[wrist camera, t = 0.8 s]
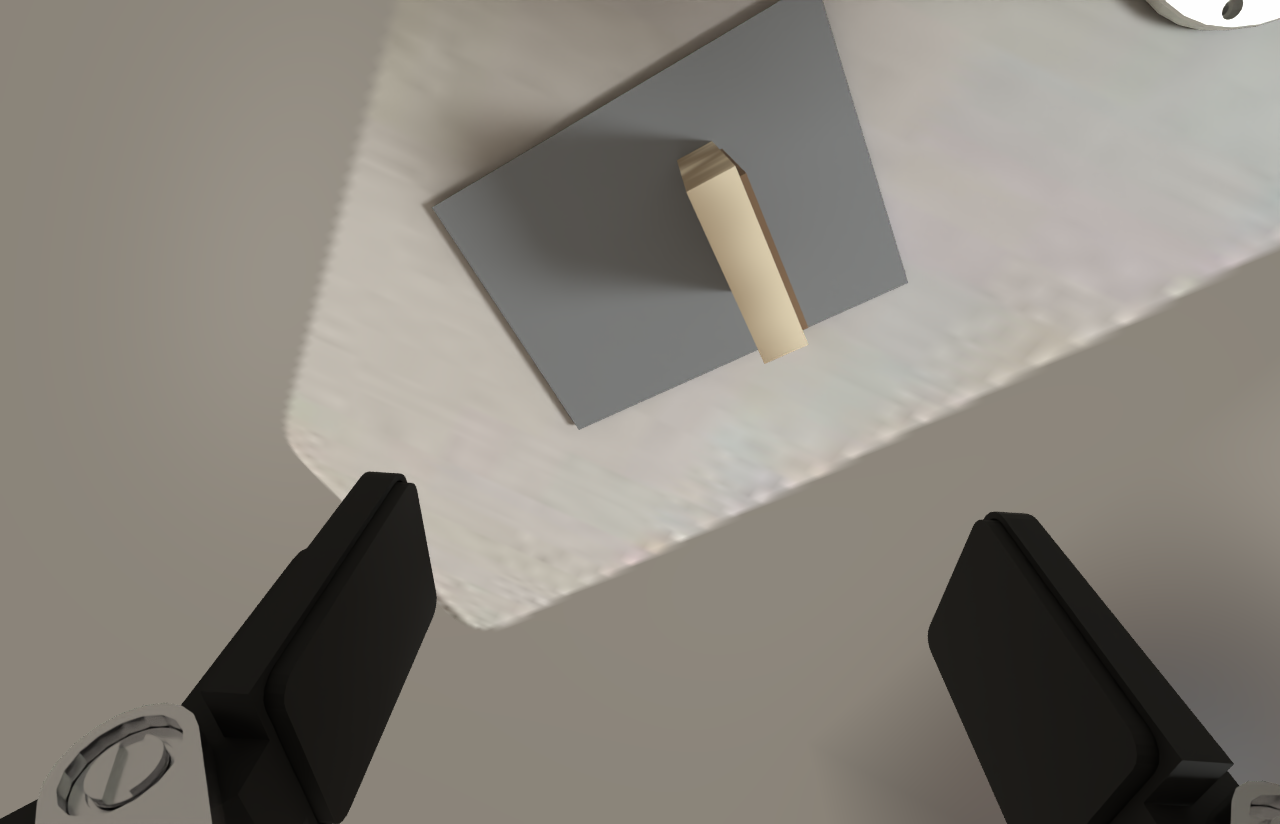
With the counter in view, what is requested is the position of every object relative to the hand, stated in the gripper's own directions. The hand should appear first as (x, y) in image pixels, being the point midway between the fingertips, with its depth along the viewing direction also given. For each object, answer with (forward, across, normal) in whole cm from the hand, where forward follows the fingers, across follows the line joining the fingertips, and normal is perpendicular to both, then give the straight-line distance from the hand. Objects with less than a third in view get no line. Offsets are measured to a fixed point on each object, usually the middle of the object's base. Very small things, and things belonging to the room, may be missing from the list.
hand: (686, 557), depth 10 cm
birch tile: (+26, -3, 0) cm, 26 cm away
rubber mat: (+26, 0, +2) cm, 26 cm away
